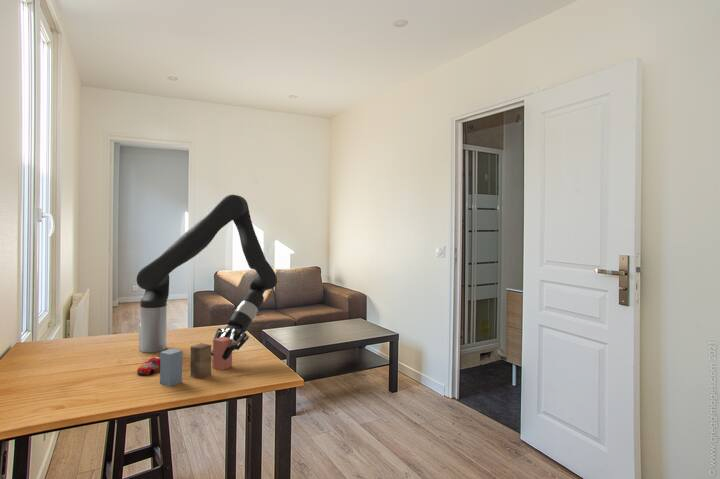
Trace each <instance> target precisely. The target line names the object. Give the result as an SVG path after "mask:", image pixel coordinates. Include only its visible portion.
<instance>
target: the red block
mask: <svg viewBox="0 0 720 479" xmlns="http://www.w3.org/2000/svg"><path fill="white" fill-rule="evenodd" d="M229 343H230V338H227V337H220V338H217V339H214V338H213V339H212V350H213V356H212V369H216V370H220V371H224V370H227V369H229V368H231V367H233V352H232V353H231V354H230V356H229V357H228V358H227V359H226V360H225V359H223V358H222V355H223V353H224V352H225V350H226V348H227V347H228V345H229Z"/></svg>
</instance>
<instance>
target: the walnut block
mask: <svg viewBox="0 0 720 479" xmlns="http://www.w3.org/2000/svg"><path fill="white" fill-rule="evenodd" d="M211 352H212V344H208V343H202V342H201V343H197V344H193V345H191V346H190V372H189V373H190V377H191V378H195V379H198V380H202V379H205V378H207V377H210V376H212V355H211Z"/></svg>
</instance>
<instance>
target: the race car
mask: <svg viewBox="0 0 720 479" xmlns="http://www.w3.org/2000/svg"><path fill="white" fill-rule="evenodd" d="M158 371H159V372H160V355H158V356H157V355H156V356H153V357H151V358H150V359H148V360H147V361H144V363H143V364H142V365H140V366H139V367H138V368H137V370H136V372H137V375H141V376H142V375H143V376H146V375H147V376H148V375H150V376H151V375H153V374H154V373H157V372H158Z"/></svg>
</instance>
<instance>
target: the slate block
mask: <svg viewBox="0 0 720 479" xmlns="http://www.w3.org/2000/svg"><path fill="white" fill-rule="evenodd" d="M159 354H160V355H159V356H160V370H159V373H160V374H159V377H160V378H159V384H161V385H164V386H167V387H173V386H175V385H177V384H180V383H183V350H181V349H176V348H170V349H167V350H166V349H165V350H162V351H159Z"/></svg>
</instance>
